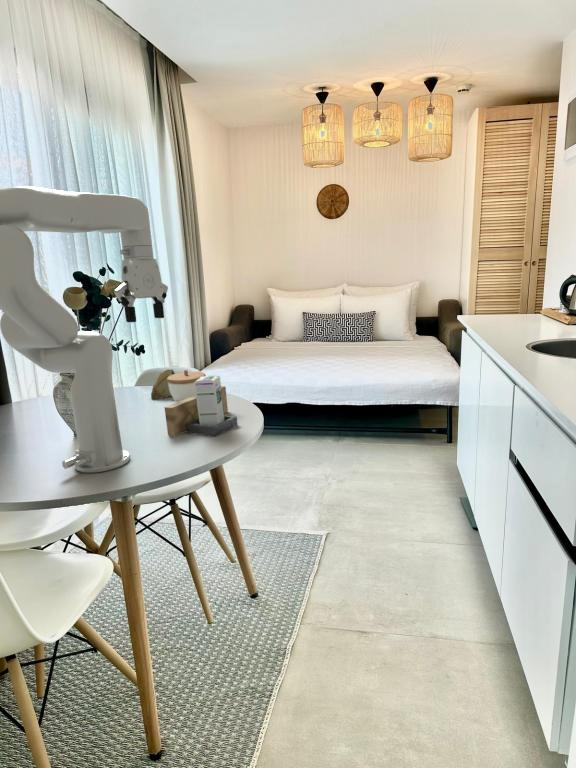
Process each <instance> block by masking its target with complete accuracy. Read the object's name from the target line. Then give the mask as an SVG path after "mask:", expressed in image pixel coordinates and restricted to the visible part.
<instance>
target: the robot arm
mask: <svg viewBox="0 0 576 768" xmlns="http://www.w3.org/2000/svg"><path fill="white" fill-rule="evenodd" d="M149 213H150V212H149V209H148V206H147V205H145V203H144V202H143V201H142V200H141V199H139V198H138V197H134V196H128V195H123V194H111V193H109V194H108V193H107V194H106V193H91V192H81V191H80V192H77V191H76V192H75V191H65V190H57V189H50V188H44V187H36V186H29V185H27V186H26V185H25V186H23V185H22V186H13V187H8V188H6V187H5V188H1V189H0V310H1V311H2V312H3V313H2V315H1V316H0V332H1V335H2V338H4V340H5V342H6V343H7V345H8V346H10V347H11V348H12V349H14V350H15V351H17V352H18V353H20V354H21V355H22V356H24V357H25V358H26V359H27V360H29V361H31V362H32V363H34V365H36V366H37V367H40V369H43V370H44V371H47V372H50V373H58V374H60V373H61V374H74V377H73V380H72V382H71V386H70V390H69V391H70V392H69V397H70V404H71V408H72V414H73V420H74V428H75V432H76V437H77V438H76V439H77V444H78V449H75V450H74V452H75V454H74V455H73V457H71V458H70V457H69V458H67V459H65V460H63V461H62V462H61V464H62V467H63V468H64V469H65V470H67V469H69V468H71V467H74V468H75V469H76V471H79V472H81V473H88V474H89V473H92V474H94V473H100V472H107V471H111V470H114V469H117V468H121V467H122V466H123V465H126V464H127V463H128V462H129V461H130V460H131V454H130V452H129V451H128V450H125V449H123V444H122V439H121V437H122V436H121V431H120V430H121V429H120V425H119V423H120V422H119V418H118V411H117V410H118V409H117V404H116V398H115V392H114V391H115V390H114V386H113V385H114V383H113V352H114V351H113V347H112V343H111V341H110V340H109V339H108V338H107V336H105V335H103V334H102V333H100V332H96V331H90V330H89V331H88V330H86V331H85V330H83V331H82V330H79V326H78V323H77V320H76V318H75V317H74V316H73V315H72V314H71V313H70V312H69V311H68V309H66V308H65V307H64V305H62V304H61V303H59V302H58V301H57V300H56V299H55V298H53V296H51V295H50V294H49V293H48V292H47V291H46V290H45V289H44V288H43V287H42V286H41V285H40V284H39V283H38V280H37V277H36V273H35V272H36V271H35V252H34V246H33V242H32V240H31V239H30V237H29V236H28V234H27V233H26V232H43V233H44V232H45V233H46V232H47V233H48V232H49V233H66V234H67V233H69V234H77V233H90V232H91V233H92V232H99V233H102V234H116V233H117V234H118V233H119V234H120V239H121V240H120V242H121V248H122V249H120V251H119V253H120V255H121V256H122V257H123V259H122V261H121V284H120V285H119V286H118V287H117V288H115V289H114V290H113V293H114V295H115V297H116V298H117V301H118V302H119V304H120V305H121V306H122V307H123V308H124V314H125V322H126V323H136V322H137V315H136V307H135V306H133V305H134V303H135V301H136V299H147V298H148V299H149V298H151V300H152V301H153V302H154V303H152V307H153V316H154V318H155V319H164V318H165V310H164V304H165V300H166V297H167V293H168V290H169V286H168V285H167V284H165V283H163V282H162V277H161V272H160V267H159V264H158V260H157V258H154V251H153V250H154V249H153V243H152V234H151V233H152V232H151V231H152V230H151V225H150V224H151V223H150V215H149Z"/></svg>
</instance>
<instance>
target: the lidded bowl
mask: <svg viewBox="0 0 576 768" xmlns="http://www.w3.org/2000/svg"><path fill="white" fill-rule="evenodd" d="M204 376H207V374H206V373H205V372H202V371H189V370H188V369H184V370H183V372H179V373H175V374H173V375H171V376H169V377H167V382H168V387H169V391H170V394H171V396H172V399H173V400H174V401H175V402H176V403H177V402H180V401H182V400H185V399H187V398H190V397H192V396H195V395H196V391H195V383H194V382H195V381H197V380H198V379H199V378H200V377H204Z"/></svg>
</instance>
